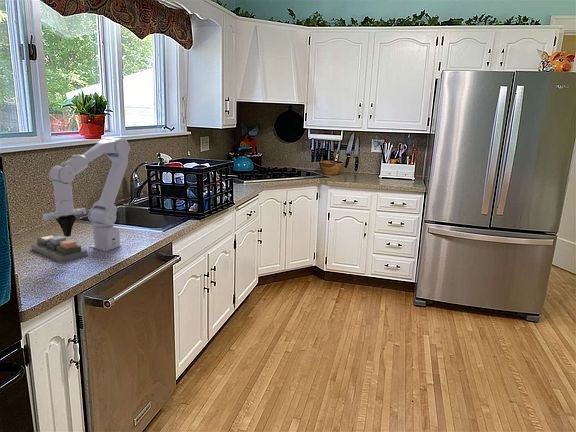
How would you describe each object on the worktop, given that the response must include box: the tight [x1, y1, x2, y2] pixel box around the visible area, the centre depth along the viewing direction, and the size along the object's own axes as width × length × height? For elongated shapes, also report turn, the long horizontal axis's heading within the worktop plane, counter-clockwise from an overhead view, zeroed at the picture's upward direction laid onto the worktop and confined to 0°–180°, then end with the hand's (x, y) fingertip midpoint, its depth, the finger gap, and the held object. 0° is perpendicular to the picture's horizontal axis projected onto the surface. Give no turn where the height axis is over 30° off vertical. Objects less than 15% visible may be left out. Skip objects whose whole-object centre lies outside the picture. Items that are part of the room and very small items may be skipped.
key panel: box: [30, 234, 88, 263], centre depth 159 cm, size 22×10×4 cm, turn 54°
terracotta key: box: [60, 239, 78, 249], centre depth 154 cm, size 4×4×2 cm
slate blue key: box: [50, 235, 67, 245], centre depth 158 cm, size 4×4×2 cm
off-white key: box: [40, 234, 55, 241], centre depth 163 cm, size 4×4×2 cm
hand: (67, 235), depth 153 cm, fingers closed
